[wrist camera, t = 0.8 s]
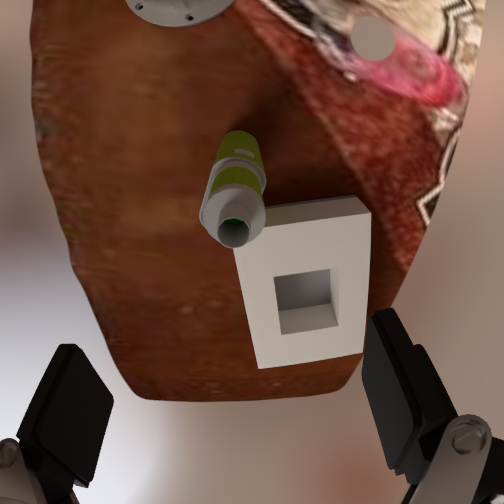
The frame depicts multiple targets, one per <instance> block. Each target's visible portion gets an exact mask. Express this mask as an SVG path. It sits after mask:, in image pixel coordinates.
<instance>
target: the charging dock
mask: <svg viewBox="0 0 504 504" xmlns="http://www.w3.org/2000/svg"><path fill="white" fill-rule="evenodd" d="M265 213H266V221H265V226H264V228H263V230H262V231H261V233H260V234H259V235H258V236H257V237H256V238H255V239H254V240H253V241H250V242H248V243H246V244H245V245H244V246H242V247H240V248H233V250H234V255H235V260H236V265H237V269H238V274H239V279H240V284H241V289H242V293H243V298H244V303H245V308H246V312H247V317H248V322H249V326H250V331H251V336H252V340H253V345H254V350H255V354H256V359H257V363H258V368H259V369H261V368H269V367H277V366H285V365H292V364H298V363H305V362H311V361H317V360H323V359H329V358H335V357H340V356H346V355H351V354H356V353H361V352H363V343H364V334H365V324H366V313H367V301H368V287H369V270H370V246H371V212H370V211H369V210H368V209H367V208H366V206H365V205H364V204H363V203H362V202H361V201H360V200H359V199H358V197H357V196H356V195H349V196H340V197H332V198H324V199H316V200H309V201H301V202H294V203H286V204H279V205H272V206H265Z"/></svg>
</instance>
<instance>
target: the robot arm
mask: <svg viewBox="0 0 504 504" xmlns="http://www.w3.org/2000/svg"><path fill="white" fill-rule="evenodd" d="M125 1H126V2H127V4H128V6H129V7H130V8H131V10H132V11H133V12H134V13H135V14H136V15H138V16H139V17H141V18H142V19H144V20H146V21H148V22H150V23H152V24H156V25H159V26H164V27H171V28H172V27H187V26H193V25H197V24H200V23H203V22H206V21H208V20H210V19H212V18H214V17H216V16H218V15H220V14H221V13H222V12H224V11H225V10H227V9H228V8H229V7H230V6H231V5H232V4H233V3H234V2H235V1H236V0H125ZM141 6H143V8H142V9H141V10H140V7H141ZM190 17H193V20H191V21H189V18H190ZM362 381H363V385H364V388H365V391H366V394H367V397H368V401H369V404H370V407H371V410H372V414H373V417H374V420H375V423H376V426H377V430H378V434H379V437H380V441H381V444H382V447H383V451H384V454H385V458H386V462H387V465H388V468H389V469H390V470H392V469H395V473H396V476H397V475H401V474H404V473H405V476H406V480H407V483H409V486H408V488H407V490H406V492H405V494H404V496H403V497H402V499H401V501H400V503H399V504H504V440H501V439H498V438H495V437H492V434H491V429H490V427H489V426H488V424H487V422H485V421H484V420H483V419H482V418H480V417H478V416H476V415H470V414H467V415H461V416H458V414H457V412H456V410H455V408H454V406H453V404H452V402H451V399H450V397H449V395H448V393H447V391H446V389H445V387H444V385H443V383H442V381H441V379H440V377H439V375H438V373H437V371H436V369H435V367H434V365H433V363H432V362H431V360H430V358H429V356H428V354H427V353H426V351H425V349H424V347H423V346H422V345H420V344H416V345H413V343H412V341H411V339H410V338H409V336H408V334H407V332H406V330H405V328H404V326H403V324H402V323H401V321H400V319H399V317H398V315H397V314H396V312H395V310H394V309H393V308H387V309H382V310H377V311H374V313H373V316H371V317H368V323H367V333H366V342H365V350H364V358H363V366H362ZM113 404H114V399H113V396H112V394H111V393H110V391H109V390H108V388H107V387H106V386H105V384H104V383H103V381H102V380H101V378H100V377H99V375H98V374H97V372H96V371H95V369H94V368H93V366H92V365H91V363H90V361H89V360H88V358H87V357H86V355H85V353H84V352H83V350H82V349H81V348H79V347H78V346H77V345H76V344H60V345H59V346H58V348H57V350H56V352H55V354H54V356H53V357H52V359H51V361H50V363H49V365H48V367H47V369H46V371H45V373H44V375H43V377H42V379H41V381H40V383H39V385H38V387H37V389H36V392H35V394H34V396H33V398H32V400H31V402H30V404H29V407H28V409H27V411H26V413H25V416H24V418H23V420H22V422H21V425H20V427H19V429H18V432H17V434H16V437H17V438H19V439H20V441H19V443H18V442H17V441H16V440H14V439H12V438H7V439H3V440H2V441H0V504H79V501H78V500H77V497H76V495H75V493H74V491H73V489H72V488H73V484H75V485H76V486H81V487H85V488H88V486H89V483H90V482H91V481H92V480H93V477H94V473H95V470H96V465H97V461H98V457H99V453H100V450H101V446H102V443H103V439H104V435H105V432H106V428H107V425H108V421H109V417H110V414H111V410H112V407H113Z"/></svg>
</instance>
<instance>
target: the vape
mask: <svg viewBox="0 0 504 504" xmlns="http://www.w3.org/2000/svg"><path fill="white" fill-rule="evenodd" d="M265 186H266V176H265V172H264V167H263V163H262V159H261V155H260V150H259V146H258V142H257V140H256V139H255V138H254V137H253V136H252V135H251V134H249V133H247V132H244V131H231V132H229V133H227V134H226V135H225V136H224V138H223V140H222V143H221V146H220V148H219V151H218V154H217V157H216V160H215V162H214V165H213V168H212V171H211V174H210V178H209V181H208V185H207V188H206V192H205V195H204V199H203V202H202V206H201V210H200V213H199V218H200V221H201V223H202V224H203V226H204V227H205V228H206V229H207V231H208V232H209V234H210V235H211V236H212V237H213V238H215V239H216V240H217V241H219V242H220V243H221V244H223V245H224V246H226V247H228V248H240V247H242V246H244V245H245V244H246V243H248V242H250V241H253V240H254V239H255V238H256V237H257V236H258V235H259V234H260V233H261V231H262V230H263V228H264V226H265V221H266V213H265V206H264V202H263V198H262V194H263V191H264V189H265Z"/></svg>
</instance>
